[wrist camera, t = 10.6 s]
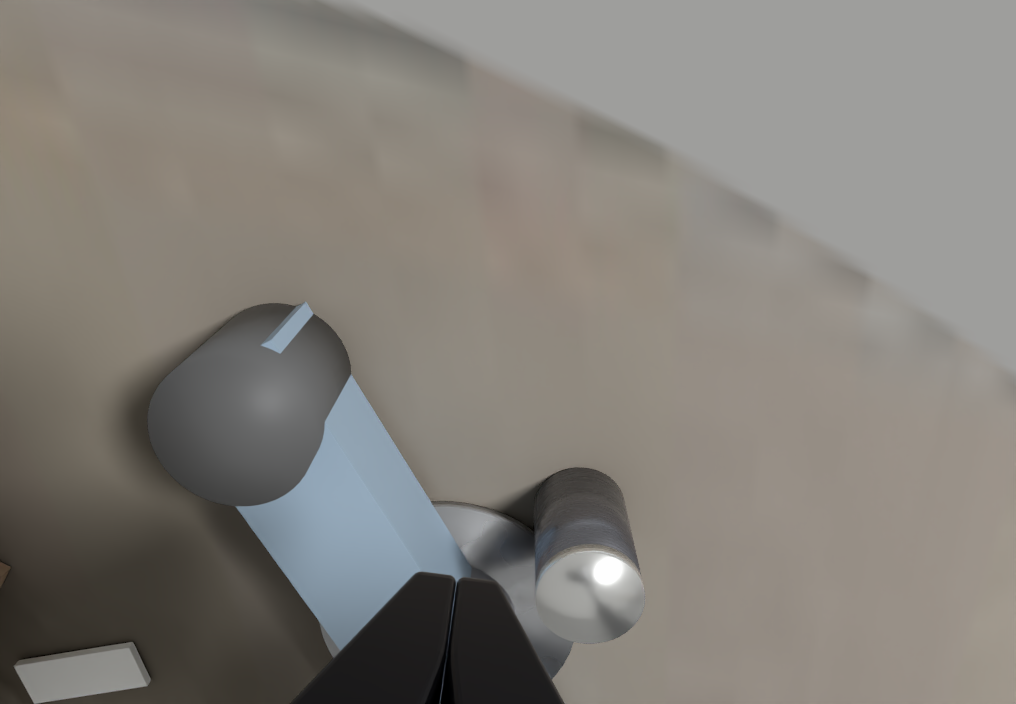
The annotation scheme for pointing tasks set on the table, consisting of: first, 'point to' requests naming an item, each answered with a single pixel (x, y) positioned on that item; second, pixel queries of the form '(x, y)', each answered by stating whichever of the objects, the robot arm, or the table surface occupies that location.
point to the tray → (3, 572)
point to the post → (585, 558)
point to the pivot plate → (500, 570)
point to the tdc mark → (83, 672)
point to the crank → (302, 463)
